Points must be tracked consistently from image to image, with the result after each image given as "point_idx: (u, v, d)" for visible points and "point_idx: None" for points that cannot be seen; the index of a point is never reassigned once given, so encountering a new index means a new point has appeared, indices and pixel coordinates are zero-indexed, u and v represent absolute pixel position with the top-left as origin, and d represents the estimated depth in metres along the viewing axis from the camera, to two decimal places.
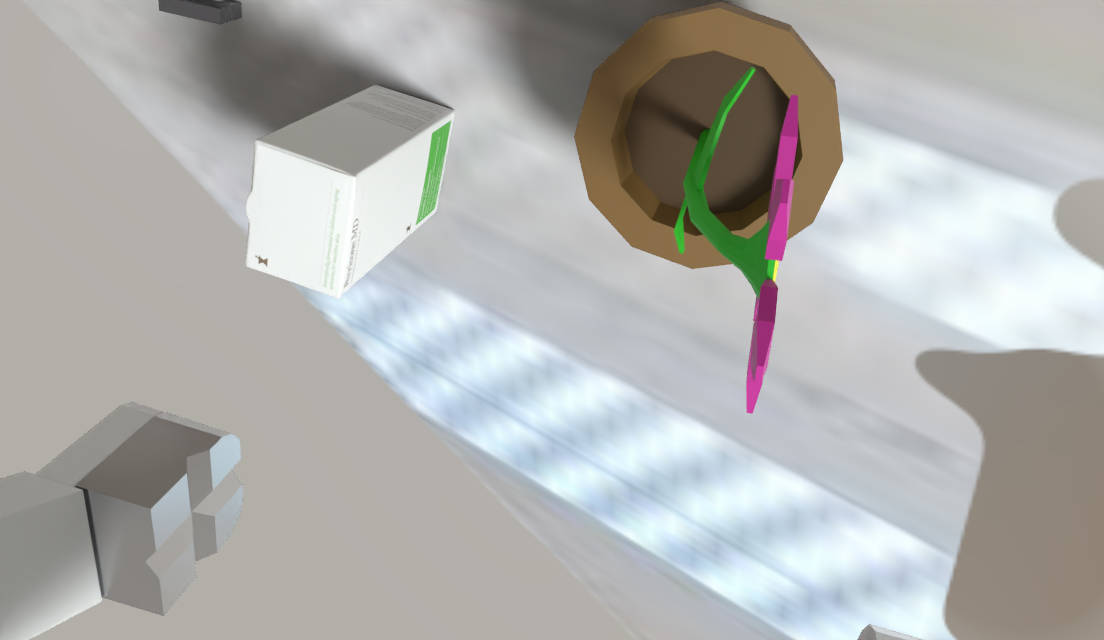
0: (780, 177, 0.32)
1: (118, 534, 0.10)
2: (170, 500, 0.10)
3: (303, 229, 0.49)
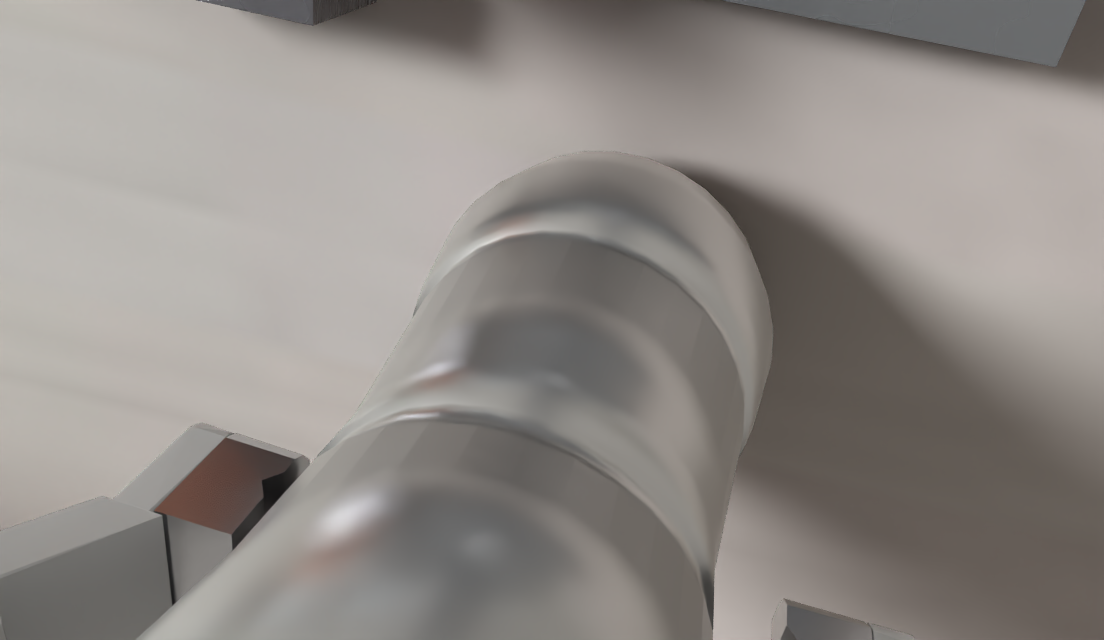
0: None
1: (195, 559, 0.10)
2: (248, 525, 0.10)
3: None
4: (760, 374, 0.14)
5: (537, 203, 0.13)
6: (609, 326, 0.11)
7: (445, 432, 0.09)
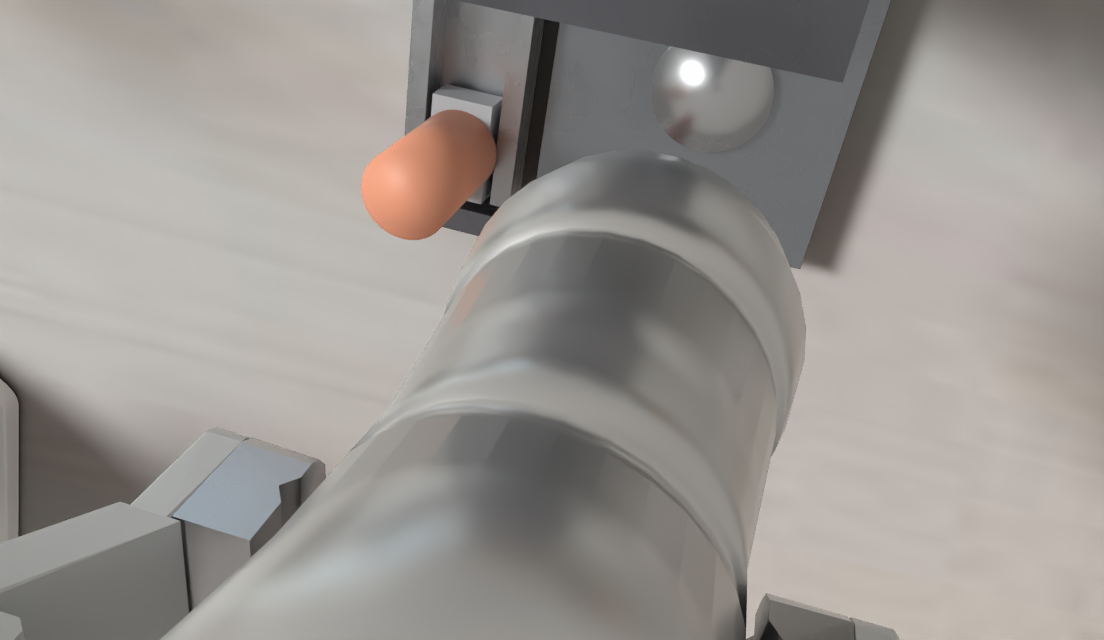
0: None
1: (213, 565, 0.10)
2: (266, 530, 0.10)
3: None
4: (793, 372, 0.14)
5: (567, 201, 0.13)
6: (640, 322, 0.11)
7: (477, 426, 0.09)
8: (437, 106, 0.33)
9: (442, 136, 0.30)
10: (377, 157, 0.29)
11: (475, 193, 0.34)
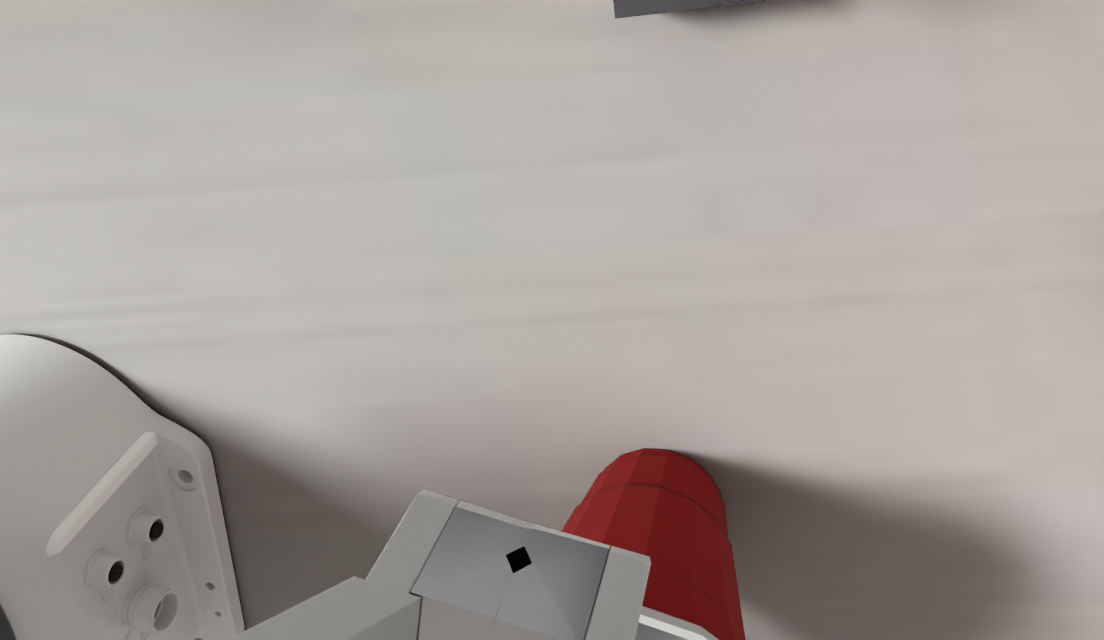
0: None
1: None
2: (502, 605, 0.09)
3: None
4: None
5: None
6: None
7: None
8: None
9: None
10: None
11: None
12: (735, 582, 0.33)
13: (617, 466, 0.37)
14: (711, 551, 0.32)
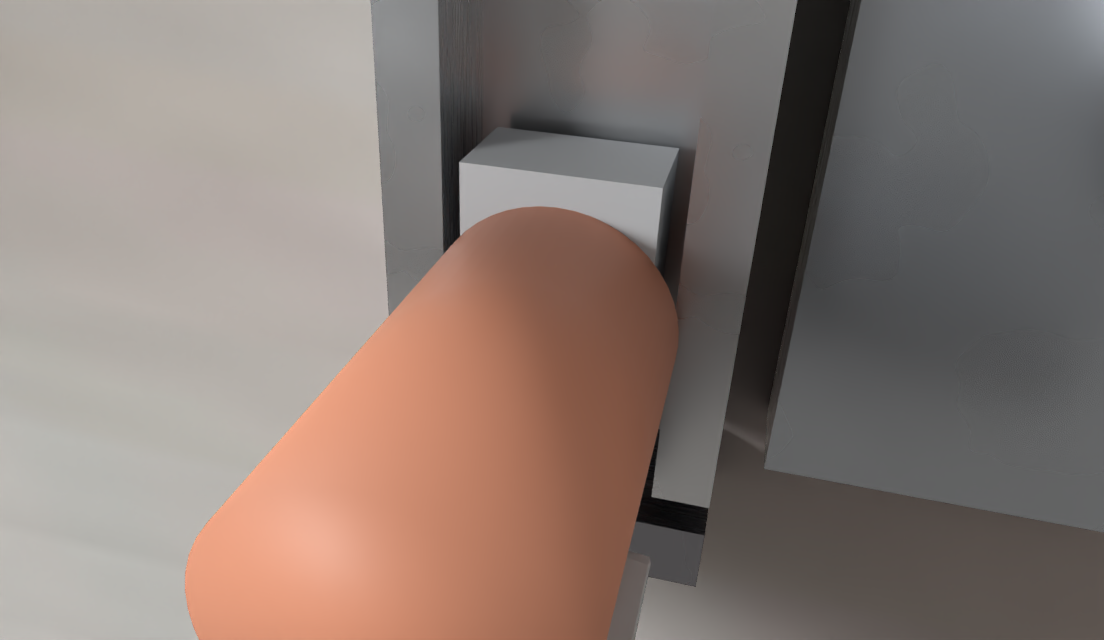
0: None
1: None
2: None
3: None
4: None
5: None
6: None
7: None
8: (478, 201, 0.10)
9: (517, 341, 0.07)
10: (230, 512, 0.06)
11: None
12: None
13: None
14: None
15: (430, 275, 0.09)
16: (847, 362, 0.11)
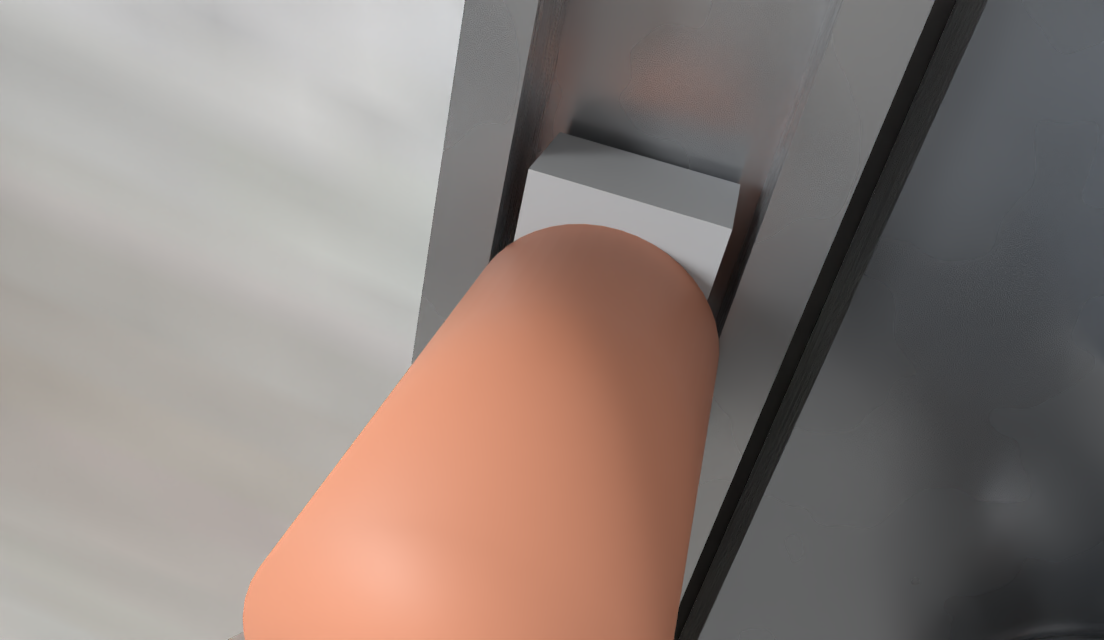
0: None
1: None
2: None
3: None
4: None
5: None
6: None
7: None
8: (540, 210, 0.10)
9: (599, 379, 0.07)
10: (318, 534, 0.06)
11: None
12: None
13: None
14: None
15: (493, 285, 0.09)
16: None
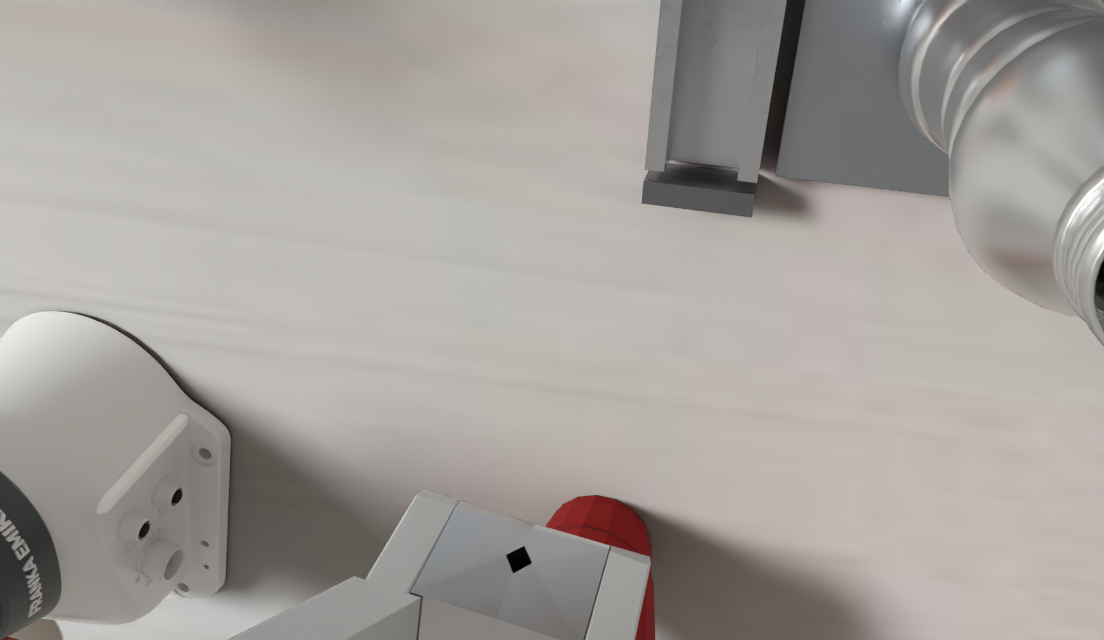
0: None
1: None
2: (502, 604, 0.09)
3: None
4: None
5: None
6: None
7: (1056, 11, 0.22)
8: None
9: None
10: None
11: None
12: (653, 613, 0.43)
13: (574, 507, 0.47)
14: None
15: None
16: (803, 131, 0.35)
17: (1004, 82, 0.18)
